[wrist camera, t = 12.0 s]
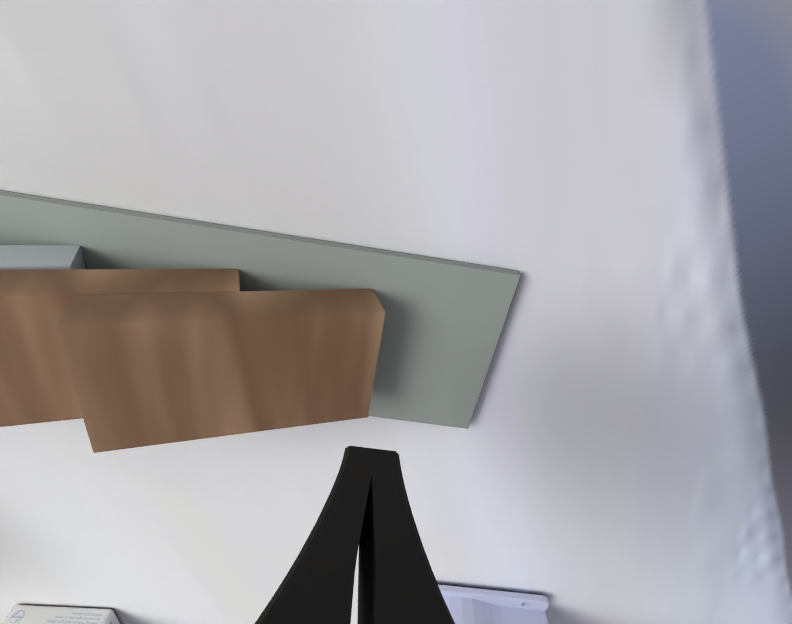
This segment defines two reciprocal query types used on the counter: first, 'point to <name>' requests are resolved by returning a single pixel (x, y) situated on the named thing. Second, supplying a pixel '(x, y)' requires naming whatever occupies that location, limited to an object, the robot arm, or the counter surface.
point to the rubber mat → (311, 270)
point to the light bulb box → (59, 615)
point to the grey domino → (41, 257)
